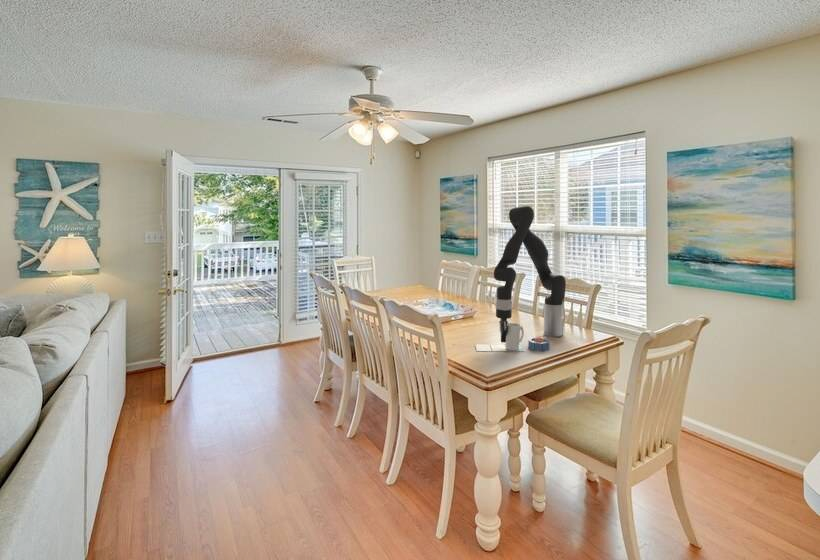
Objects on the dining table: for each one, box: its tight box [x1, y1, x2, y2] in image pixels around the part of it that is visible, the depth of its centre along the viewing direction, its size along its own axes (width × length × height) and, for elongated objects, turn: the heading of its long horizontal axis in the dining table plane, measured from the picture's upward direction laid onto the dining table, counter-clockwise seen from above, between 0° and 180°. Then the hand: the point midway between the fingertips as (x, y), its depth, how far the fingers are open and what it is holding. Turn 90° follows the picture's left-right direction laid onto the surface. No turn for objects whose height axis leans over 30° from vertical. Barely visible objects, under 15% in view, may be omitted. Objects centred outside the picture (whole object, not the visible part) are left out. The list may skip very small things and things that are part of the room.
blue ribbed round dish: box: [527, 336, 550, 352], centre depth 208 cm, size 10×10×4 cm
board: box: [474, 343, 525, 353], centre depth 210 cm, size 22×11×1 cm, turn 85°
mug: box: [505, 322, 525, 350], centre depth 207 cm, size 10×7×12 cm, turn 116°
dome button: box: [533, 336, 545, 343], centre depth 208 cm, size 6×6×5 cm
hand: (503, 342), depth 209 cm, fingers closed
